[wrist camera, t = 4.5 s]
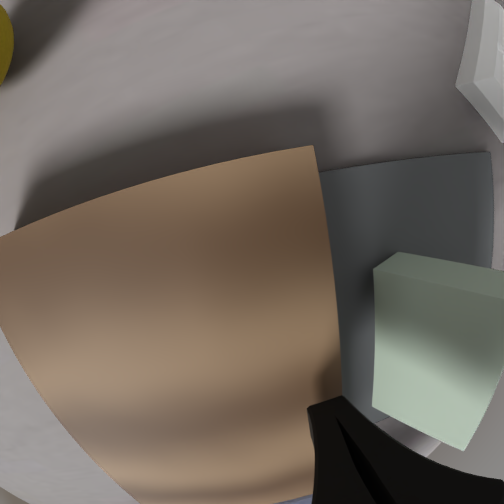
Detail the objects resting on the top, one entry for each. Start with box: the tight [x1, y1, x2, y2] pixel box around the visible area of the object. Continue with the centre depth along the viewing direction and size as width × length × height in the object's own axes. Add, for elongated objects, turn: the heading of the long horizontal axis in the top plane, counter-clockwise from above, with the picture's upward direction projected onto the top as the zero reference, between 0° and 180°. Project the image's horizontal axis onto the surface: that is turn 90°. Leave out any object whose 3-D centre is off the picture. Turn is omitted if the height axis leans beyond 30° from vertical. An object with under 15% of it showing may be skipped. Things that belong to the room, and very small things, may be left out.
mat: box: [318, 152, 494, 423], centre depth 13 cm, size 15×11×1 cm
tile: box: [372, 252, 504, 451], centre depth 10 cm, size 8×6×2 cm
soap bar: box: [455, 0, 504, 143], centre depth 9 cm, size 5×9×3 cm, turn 154°
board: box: [0, 145, 342, 504], centre depth 11 cm, size 18×12×3 cm, turn 12°
